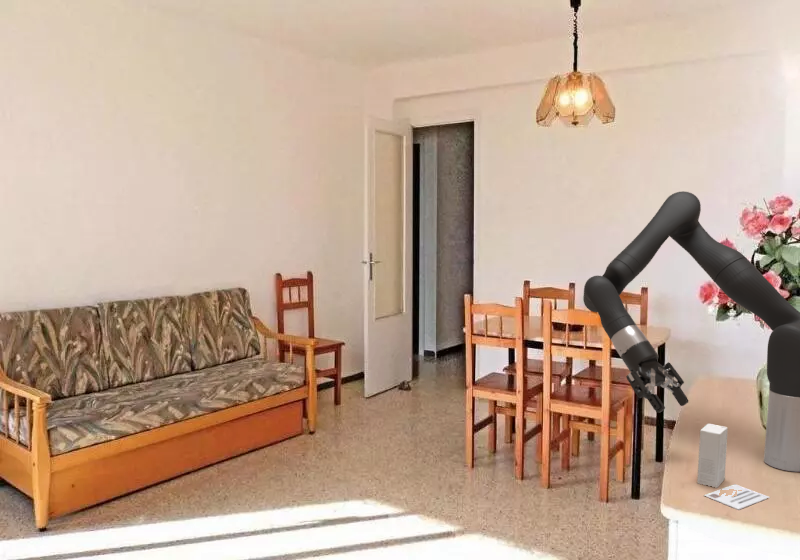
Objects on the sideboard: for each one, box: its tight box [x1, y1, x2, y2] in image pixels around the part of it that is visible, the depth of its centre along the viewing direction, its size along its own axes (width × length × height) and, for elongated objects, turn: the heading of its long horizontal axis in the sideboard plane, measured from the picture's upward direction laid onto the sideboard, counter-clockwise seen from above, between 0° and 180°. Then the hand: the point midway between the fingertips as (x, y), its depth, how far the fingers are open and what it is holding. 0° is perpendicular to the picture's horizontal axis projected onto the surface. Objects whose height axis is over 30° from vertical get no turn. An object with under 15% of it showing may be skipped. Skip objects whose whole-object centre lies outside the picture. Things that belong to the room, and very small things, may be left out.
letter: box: [703, 484, 771, 511], centre depth 140 cm, size 11×8×1 cm
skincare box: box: [696, 423, 729, 489], centre depth 147 cm, size 6×4×12 cm
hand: (673, 407), depth 155 cm, fingers open, 8 cm apart
